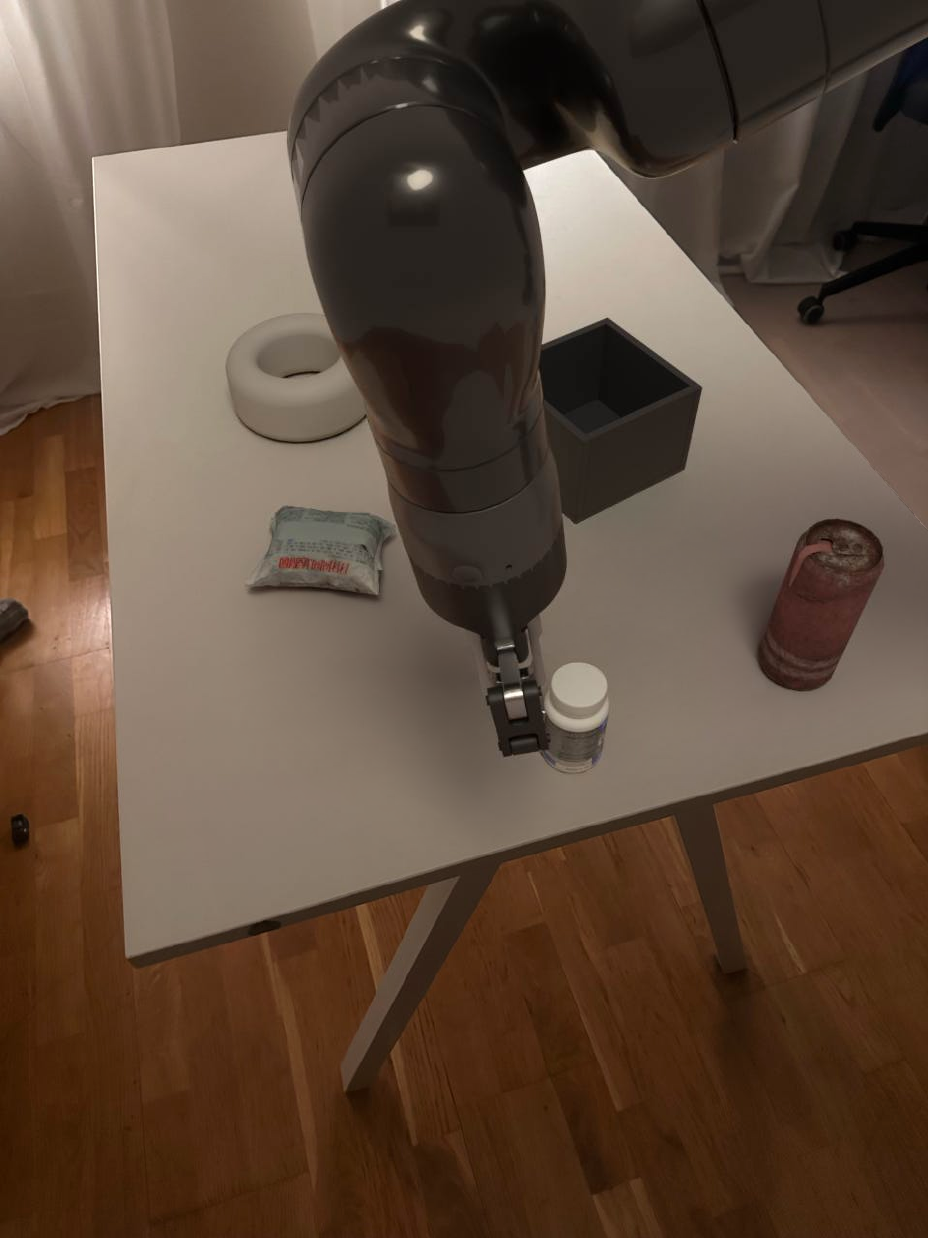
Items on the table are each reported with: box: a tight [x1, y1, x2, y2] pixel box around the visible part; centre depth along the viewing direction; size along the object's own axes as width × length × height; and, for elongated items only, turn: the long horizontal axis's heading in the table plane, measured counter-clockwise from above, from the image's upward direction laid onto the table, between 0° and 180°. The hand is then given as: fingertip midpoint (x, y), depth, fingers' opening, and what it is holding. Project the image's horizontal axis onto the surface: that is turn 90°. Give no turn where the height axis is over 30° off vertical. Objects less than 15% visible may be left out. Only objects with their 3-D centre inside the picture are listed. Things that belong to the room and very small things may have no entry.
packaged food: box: [244, 505, 397, 596], centre depth 84 cm, size 9×12×5 cm
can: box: [757, 518, 885, 691], centre depth 73 cm, size 6×6×14 cm
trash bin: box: [539, 317, 703, 524], centre depth 91 cm, size 14×14×10 cm
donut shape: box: [225, 312, 366, 443], centre depth 99 cm, size 15×15×7 cm
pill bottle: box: [541, 661, 610, 774], centre depth 70 cm, size 5×5×8 cm
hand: (516, 678), depth 58 cm, fingers open, 8 cm apart
